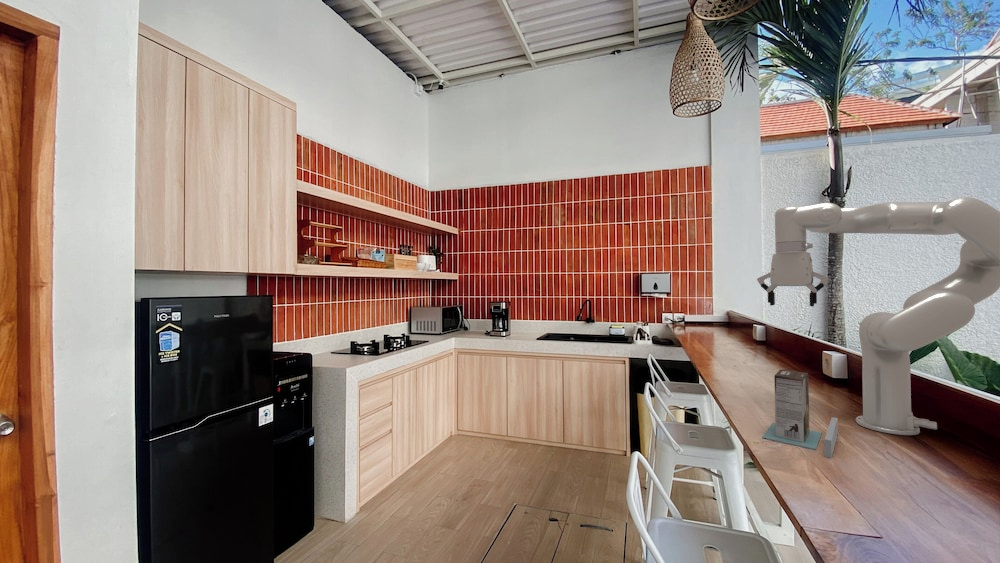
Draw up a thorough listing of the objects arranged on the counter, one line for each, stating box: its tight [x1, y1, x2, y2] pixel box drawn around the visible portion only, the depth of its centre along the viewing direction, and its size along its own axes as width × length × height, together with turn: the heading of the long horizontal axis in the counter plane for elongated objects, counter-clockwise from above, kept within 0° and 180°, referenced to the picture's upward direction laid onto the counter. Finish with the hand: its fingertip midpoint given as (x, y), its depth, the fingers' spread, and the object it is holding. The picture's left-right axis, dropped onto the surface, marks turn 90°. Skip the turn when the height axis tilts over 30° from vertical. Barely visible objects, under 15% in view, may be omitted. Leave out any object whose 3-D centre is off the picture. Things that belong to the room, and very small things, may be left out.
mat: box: [761, 422, 823, 451], centre depth 104 cm, size 11×14×1 cm
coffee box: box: [774, 369, 811, 442], centre depth 104 cm, size 9×6×16 cm
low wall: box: [824, 417, 839, 459], centre depth 99 cm, size 1×20×4 cm, turn 136°
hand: (791, 305), depth 119 cm, fingers open, 9 cm apart
